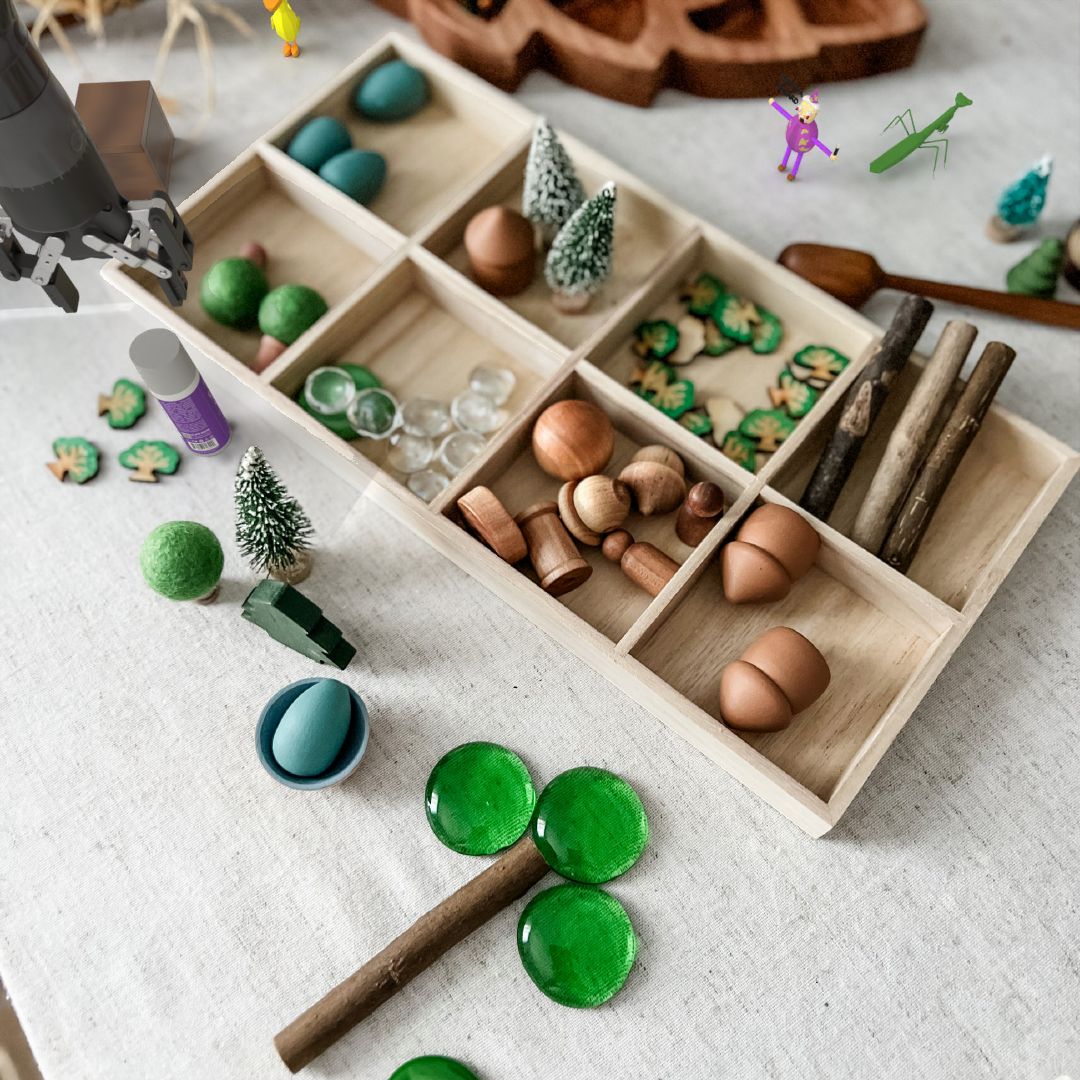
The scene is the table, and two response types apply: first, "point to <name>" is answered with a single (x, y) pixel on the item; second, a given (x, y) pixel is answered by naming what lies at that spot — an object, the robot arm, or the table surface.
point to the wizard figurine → (801, 127)
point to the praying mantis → (917, 138)
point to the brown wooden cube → (128, 134)
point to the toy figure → (284, 24)
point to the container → (180, 391)
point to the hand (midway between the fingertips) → (126, 301)
